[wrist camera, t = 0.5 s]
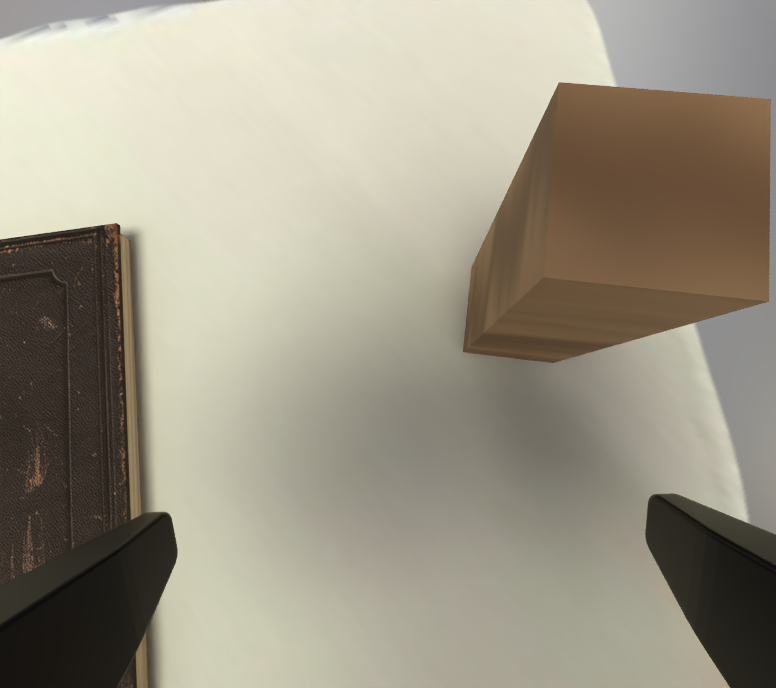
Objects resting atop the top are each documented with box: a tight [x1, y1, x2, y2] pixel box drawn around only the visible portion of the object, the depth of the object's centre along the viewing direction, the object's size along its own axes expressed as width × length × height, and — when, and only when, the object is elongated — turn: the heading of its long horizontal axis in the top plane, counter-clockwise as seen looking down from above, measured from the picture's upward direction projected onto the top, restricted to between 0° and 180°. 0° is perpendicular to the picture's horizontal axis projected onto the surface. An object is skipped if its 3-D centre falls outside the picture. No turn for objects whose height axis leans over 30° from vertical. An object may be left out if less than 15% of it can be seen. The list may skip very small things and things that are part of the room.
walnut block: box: [463, 82, 771, 363], centre depth 16 cm, size 4×4×13 cm
